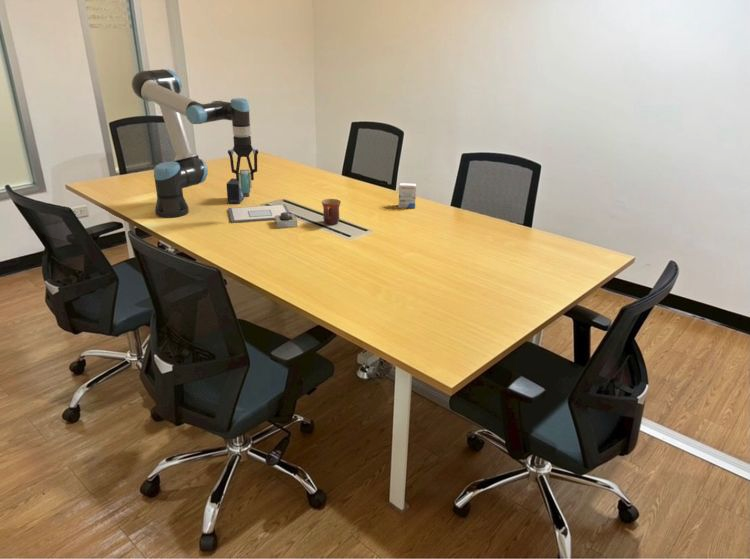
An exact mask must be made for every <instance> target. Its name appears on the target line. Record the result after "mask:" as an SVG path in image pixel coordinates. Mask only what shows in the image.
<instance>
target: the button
mask: <svg viewBox="0 0 750 559" xmlns="http://www.w3.org/2000/svg"><path fill="white" fill-rule="evenodd" d="M290 214H291V212H290V213H288V212H283V213H281V220H291V215H290Z"/></svg>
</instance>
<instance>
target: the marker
mask: <svg viewBox="0 0 750 559" xmlns="http://www.w3.org/2000/svg"><path fill="white" fill-rule="evenodd" d="M249 172H250V169H246V168H243V169H239V173H240V176H241V192H242V193H243V197H244V198H250V193H251V188H250V180H249Z"/></svg>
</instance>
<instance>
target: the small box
mask: <svg viewBox="0 0 750 559" xmlns="http://www.w3.org/2000/svg"><path fill="white" fill-rule="evenodd" d="M225 185H226V193H227V194H226V196H227V199H226V200H227V204H235V205H236V204H238V205H240V204H241V203H242V201H243V200H244V199H245V197H243V193H242V192H241V188H240V187H239V181H237V180H236V178H231V179H229V181H227V183H226V184H225Z"/></svg>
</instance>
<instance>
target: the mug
mask: <svg viewBox="0 0 750 559" xmlns="http://www.w3.org/2000/svg"><path fill="white" fill-rule="evenodd" d="M341 203H342V201H341V200H339V199H336V198H325V199H323V200H321V204H322V208H323V212H322V214H323V215H322V216H323V217H322V220H323V222H324V223H325V224H326V225H331V226H333V225H337V224H338V223H339V222H340V206H341Z"/></svg>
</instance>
